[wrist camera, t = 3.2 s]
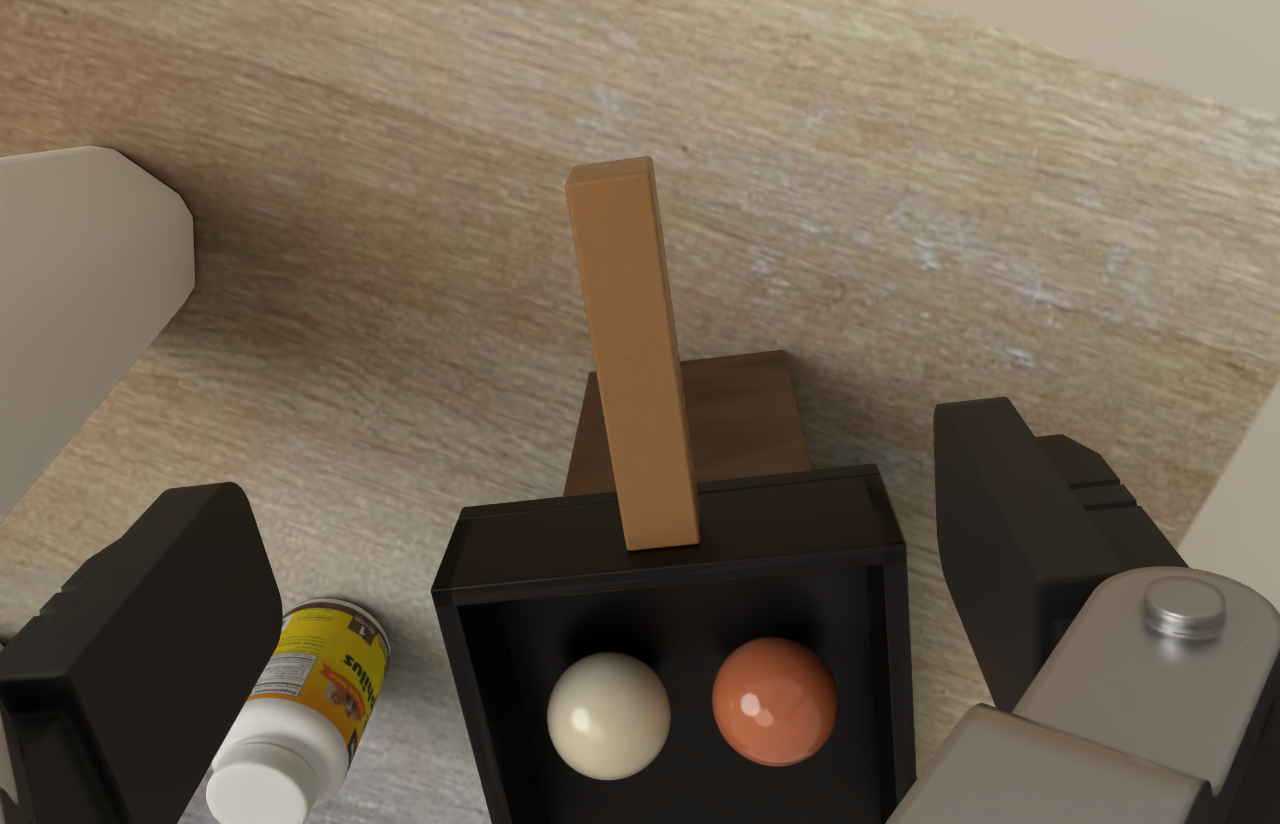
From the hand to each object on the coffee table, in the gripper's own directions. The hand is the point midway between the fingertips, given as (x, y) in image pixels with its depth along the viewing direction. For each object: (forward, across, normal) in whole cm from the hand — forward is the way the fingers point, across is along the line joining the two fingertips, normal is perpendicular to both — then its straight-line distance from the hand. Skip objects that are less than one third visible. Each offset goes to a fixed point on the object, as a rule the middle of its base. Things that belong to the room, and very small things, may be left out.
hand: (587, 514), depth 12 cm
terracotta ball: (+10, -2, +11) cm, 15 cm away
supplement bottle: (+30, +18, +22) cm, 41 cm away
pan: (+12, 0, +7) cm, 14 cm away
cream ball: (+10, +2, +11) cm, 15 cm away
